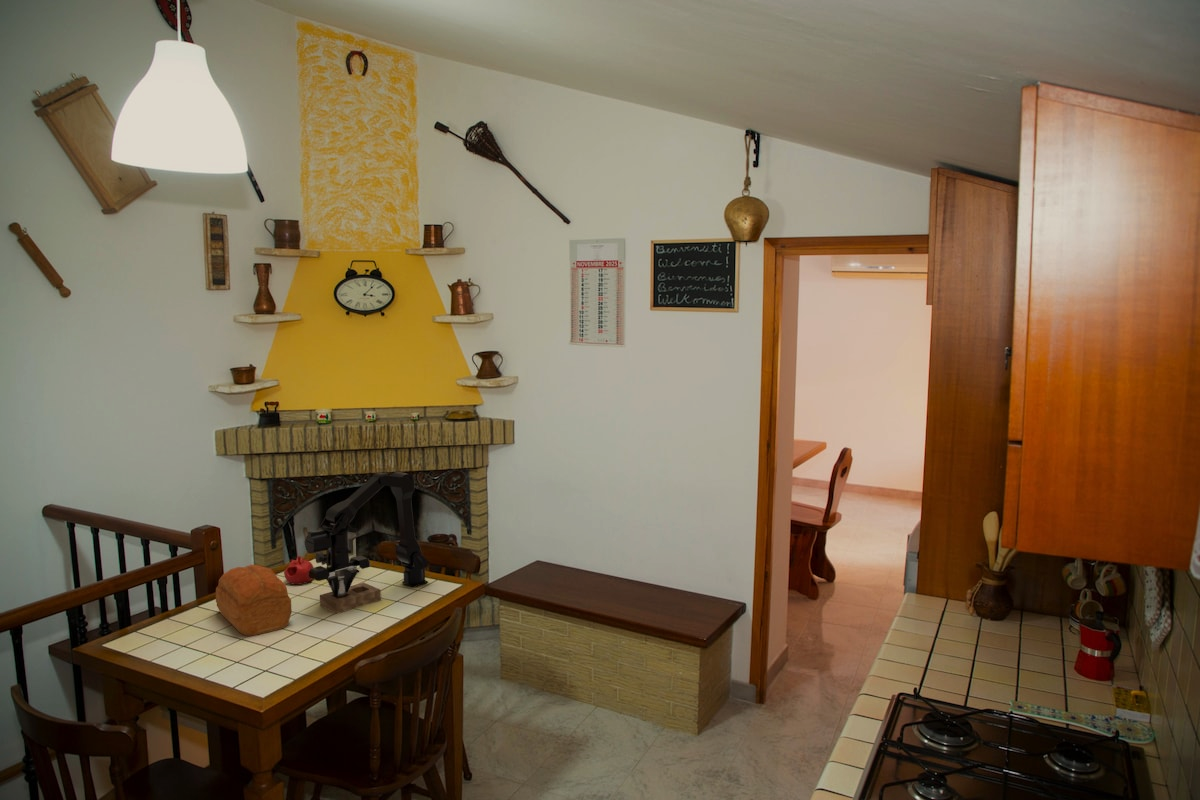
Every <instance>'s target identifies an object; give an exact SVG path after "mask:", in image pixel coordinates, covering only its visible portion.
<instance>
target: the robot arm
mask: <svg viewBox="0 0 1200 800" xmlns="http://www.w3.org/2000/svg"><path fill="white" fill-rule="evenodd" d="M415 481H416V480H415V478H414V476H412V474H408V473H405V472H401V471H395V472H393V473H387V472H386V473H385V472H383V473H382V472H374V473H373V475H372V476H371V477H370V478H369V479H368V480H367V481H366V482H365V483H363V484H362V485H361V486H360V487H359V488H358V489H357V490H356V491H354V492H353V493H352V494H351V495H350V496H349V497H347V498H346V499H345V500H342V501H340V502H337V503H335V504H334V505H332V506H331V507H329V508H328V509H327V510H326V513H325V517H324V518H323V520H322V521H321V524H320V525H319V526H318V529H317V530H309V531H308V532H307V535H306V537H305V539H304V548H305V550H306V552H307V554H311V555H313V554H315V557H314V558H315V562H316V564H320V563H321V565H319V566H315V567H314V566H313V567H314V568H311V569H310V570H309V577H310V578H312V580H315V581H317V582H319V581H320V582H321V581H324V580H326V581H327V583H328V585H329V586H330V587H329V588H330V589H331V592H333V594H334V595H335V596H336V595H337V588H338V577H337V576H335V572H337V571H341V570H343V573H344V578H345V592H348V590H349V588H350V586H352V583H353V581H354V580H355V577H356V576H357V575H358V573H360V570H359V569H358V567H359V568H360V569H361V570H363V569H368V568H370V567H371V561H370V560H369V558H368V557H365V556H363V555H356V557H353V558H351V559H350V561H349V553H351V550H350V549H349V544H348V532H354V531H355V527H353V526H351V524H350V523H351V522H352V521H353V519H354V518H355V517H356V514H357V511H358V510H359V509H361V507H362V506H363V505H365V504H366V503H367V502H368V501H369V500H370V499H371V498H373V496H375V494H376V493H378V492H379V491H380V490H381V489H383V487H390V491H391V492H392V494H393V495H394V498H395V499H396V500H395V501H396V509H397V518H398V528H399V537H400V539H399V541H398V543H396V544H394V549H395V553H394V554H395V556H396V558H397V559H398V560H399V561H400V563H401V565H402V566H404V568H403V569H404V571H403V581H401V582H402V584H403V585H405V586H409V587H411V588H415V587H418V586H421V585H422V586H423V585H424V584H427V583H428V582H429V581H428V580H426V568H428V565H429V561H430V560H429V559H428V558H426V557H425V556H423V553H422V549H421V546H420V544H419V542H418V540H417V538H416V534H415V532H416V531H415V526H414V525H415V524H414V515H413V514H414V513H413V507H412V506H413V505H412V497H413V494H414V493H415V485H416V484H415ZM331 525H332V526H331ZM329 548H330V549H329ZM326 550H328V551H327V554H326V553H324V552H326ZM323 565H324V566H325V565H326V566H327V565H328V566H329V565H330V567H328V568H327V567H324V566H323Z"/></svg>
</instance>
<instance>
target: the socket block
mask: <svg viewBox="0 0 1200 800" xmlns="http://www.w3.org/2000/svg"><path fill="white" fill-rule="evenodd" d="M381 593H382V591H381V589H380V588H377V587H375V586H373V585H371V584H368V583H365V582H360V583H358V584H356V583H355V584H353V585H351V586H350V588H349V590H348V592H346V597H343V598H339V599H337V598H336V596H335V595H334V594H333V592H332V591H329V592H326V593H323V594H319V606H320V607H322V608H324V609H327V610H328V611H331V612H333V614H340V613H344V612H346V611H350V610H353V609H356V608H360V607H363V606H366V605H369V604H372V603H376V602H378V601H382V595H381Z"/></svg>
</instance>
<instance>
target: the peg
mask: <svg viewBox="0 0 1200 800" xmlns="http://www.w3.org/2000/svg"><path fill="white" fill-rule="evenodd" d="M343 597H346V592H345V578H338V588H337V595H336V598H337V599H339V598H343Z"/></svg>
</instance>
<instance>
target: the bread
mask: <svg viewBox="0 0 1200 800" xmlns="http://www.w3.org/2000/svg"><path fill="white" fill-rule="evenodd" d="M215 603H216V607H217V609H218V611H219V612H220V614H221V616H223V618H224V619H226V620H227V621H228V622H229V623H230V624H231V625H232V626H233V627H234V628H235V629H236V631H238V632H239V633H241V634H242V635H243V636H257V635H260V634H264V633H265V634H266V633H270V632H274V631H276V630H280V629H283V628H286V627H287V626H289V624H290V619H291V615H292V598H291V597H290V596H289V593H288V587H287V586H286V584H285V583H284V581H282V580H281V578H279V577H278V576H277V574H276V573H275V572H274V571H273V570H272V569H270V568H269V567H266V566H262V565H258V564H249V565H246V566H244V567H242V566H238V567H233V568H231V569H229V570H227V571H226V572H224V573H223V574H222V575H221V576H220V578H219V579H218V585H217V586H216V588H215Z"/></svg>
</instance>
